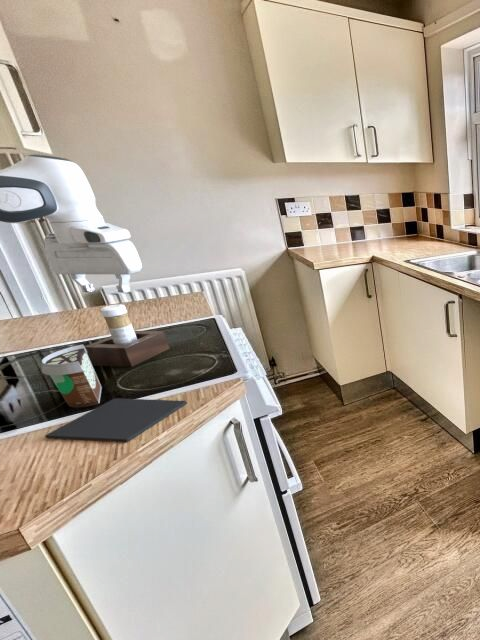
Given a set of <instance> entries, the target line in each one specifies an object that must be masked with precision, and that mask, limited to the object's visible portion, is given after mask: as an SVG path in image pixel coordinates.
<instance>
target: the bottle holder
mask: <svg viewBox="0 0 480 640" xmlns="http://www.w3.org/2000/svg"><path fill="white" fill-rule="evenodd" d="M134 331H135V334H136V337H137V340H135V341H132V342H130V343H128V344H125V345H115V343H114V341H113V339H112V336H108V337H105V338H103V339H100V340H97V341H95V342H93V343H89V344H87V345H84V347H85V349H86V351H87V354H88V356H89V359H90V361H91V364H92V366H93V367H119V368H120V367H121V368H123V367H125V368H133V367H135V366H137V365H139V364H141V363H143V362H146V361H147V360H149V359H151V358H153V357H156V356H157V355H159V354H163V353H164V352H166V351H168V350H170V349H171V347H170V345H169V342H168V338H167V336H166V334H165V331H163V330H162V331H161V330H134Z"/></svg>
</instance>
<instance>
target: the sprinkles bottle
mask: <svg viewBox="0 0 480 640" xmlns="http://www.w3.org/2000/svg"><path fill="white" fill-rule="evenodd" d="M99 310H100V313H101V316H102V317H103V319H104V320H105V324H106V326H107V328H108V331H109V334H110V335H111V336H112V339H113V341H114V343H115V345H125V344H128V343H130V342H132V341H135V340H137V337H136V334H135V331H136V330H135V328H134V327H133V324H132V323H131V320H130V318H129V316H128V310H127V308H126V306H125V304H118V303H117V304H111V305H110V304H109V305H107V306H103V307H100V309H99Z"/></svg>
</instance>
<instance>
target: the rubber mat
mask: <svg viewBox="0 0 480 640" xmlns="http://www.w3.org/2000/svg"><path fill="white" fill-rule="evenodd" d="M187 404H188V402H187V400H171V399H170V400H169V399H168V400H167V399H146V398H145V399H144V398H143V399H142V398H112V399H110V400H109V401H107V402H104V403H103V404H101V405H100V406H98V407H96V408H94V409H92V410H90V411H88V412H86V413H84V414H82V415H81V416H79V417H77V418H75V419H73V420H71V421H69V422H68V423H65V424H64V425H62V426H60V427H58V428H56V429H54V430H53V431H51V432H49V433H47V434H45V435H44V437H45V438H46V439H53V440H54V439H55V440H56V439H57V440H76V441H77V440H78V441H97V442H118V443H128V442H130V441H131V440H133V439H135V438H137V437H138V436H139V435H141V434H142V433H145V431H148V430H149V429H150V428H152V427H153V426H156V425H157V424H158V423H159V422H161V421H163V420H164V419H165V418H167V417H168V416H170V415H172V414H173V413H175V412H177V411H178V410H179V409H181V408H183V407H184V406H185V405H187Z"/></svg>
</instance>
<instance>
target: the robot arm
mask: <svg viewBox="0 0 480 640" xmlns="http://www.w3.org/2000/svg"><path fill="white" fill-rule="evenodd" d="M93 191H94V190H93V189H92V187H91V184H90V182H89V180H88V178H87V176H86V175H85V172H84V170H83V169H82V168H81V167H80V165H78V164H77V163H76V162H74V161H73V160H71V159H68V158H65V157H60V156H59V157H58V156H53V155H41V154H28V155H26V156H24V157H23V159H21V160H20V161H17V162H16V163H15V164H12V165H10V166H8V167H4V168H2V169H0V222H1V223H6V224H24V223H27V222H31V221H33V220H36V219H40V218H45V219H47V220H48V223H49V225H50V227H51V229H52V232H53V233H47V234H46V236H45V237H44V239H43V242H44V251H45V255H46V258H47V261H48V264H49V267H50V269H51V270H52V272H54V273H55V274H56V275H69V276H70V277H71V279H72V281H73V282H75V284H77V285H78V287H80V289H81V291H82V292H83V293H93V292H95V291H96V288H95V287H94V283H90V282H89V280H88V279H86V277H87V276H86V275H114V276H115V278H116V279H117V280H118V285H115V288H116V289H117V292H118V293H120V294H124V293H129V292H131V287H130V282H131V281H130V280H131V275H132V274H136V273H139V272H142V269H143V263H142V260H141V258H140V256H139V252H138V250H137V248H136V246H135V245H134V243H133V242H132V241H131V240H129V239H131V237H132V235H131V233H130V231H129V230H128V229H127V228H124V227H119V226H117V225H114V224H111V223H110V222H109V223H108V222H105V218H104V217H103V215H102V213H101V212H100V211H99V209H98V207H97V203H96V196H95V194H94V192H93Z"/></svg>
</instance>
